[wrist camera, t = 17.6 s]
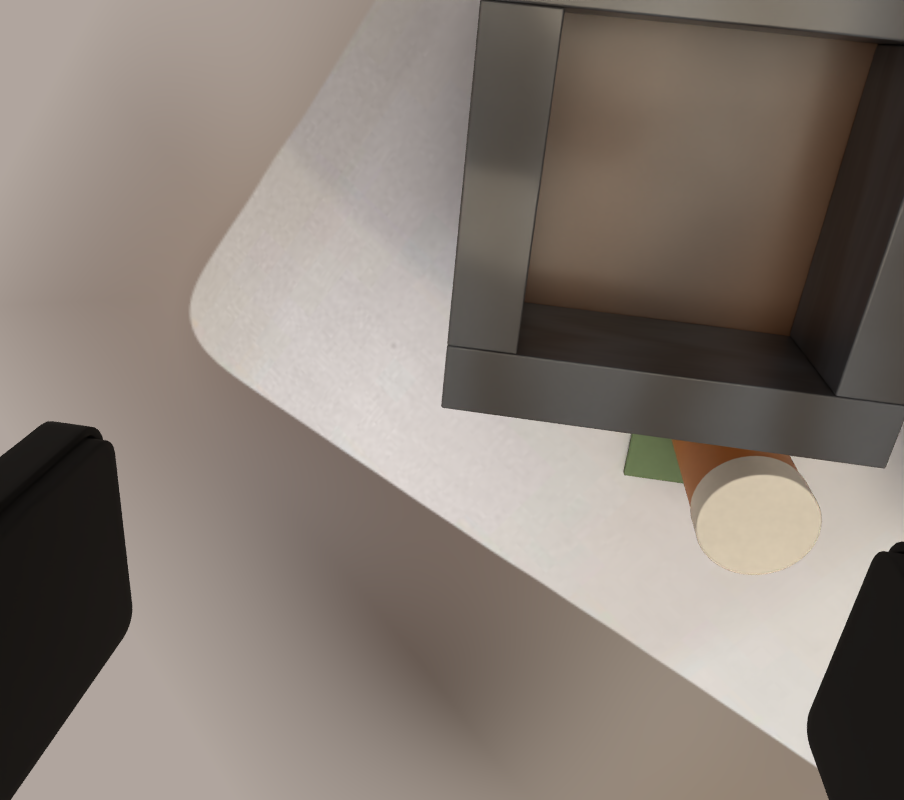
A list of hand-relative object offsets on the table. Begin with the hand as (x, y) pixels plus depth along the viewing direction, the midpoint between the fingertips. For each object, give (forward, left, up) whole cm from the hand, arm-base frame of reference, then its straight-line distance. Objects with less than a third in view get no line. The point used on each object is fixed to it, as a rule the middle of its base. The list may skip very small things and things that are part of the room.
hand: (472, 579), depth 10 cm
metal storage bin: (+6, +1, -40) cm, 40 cm away
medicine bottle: (+14, -16, -39) cm, 45 cm away
